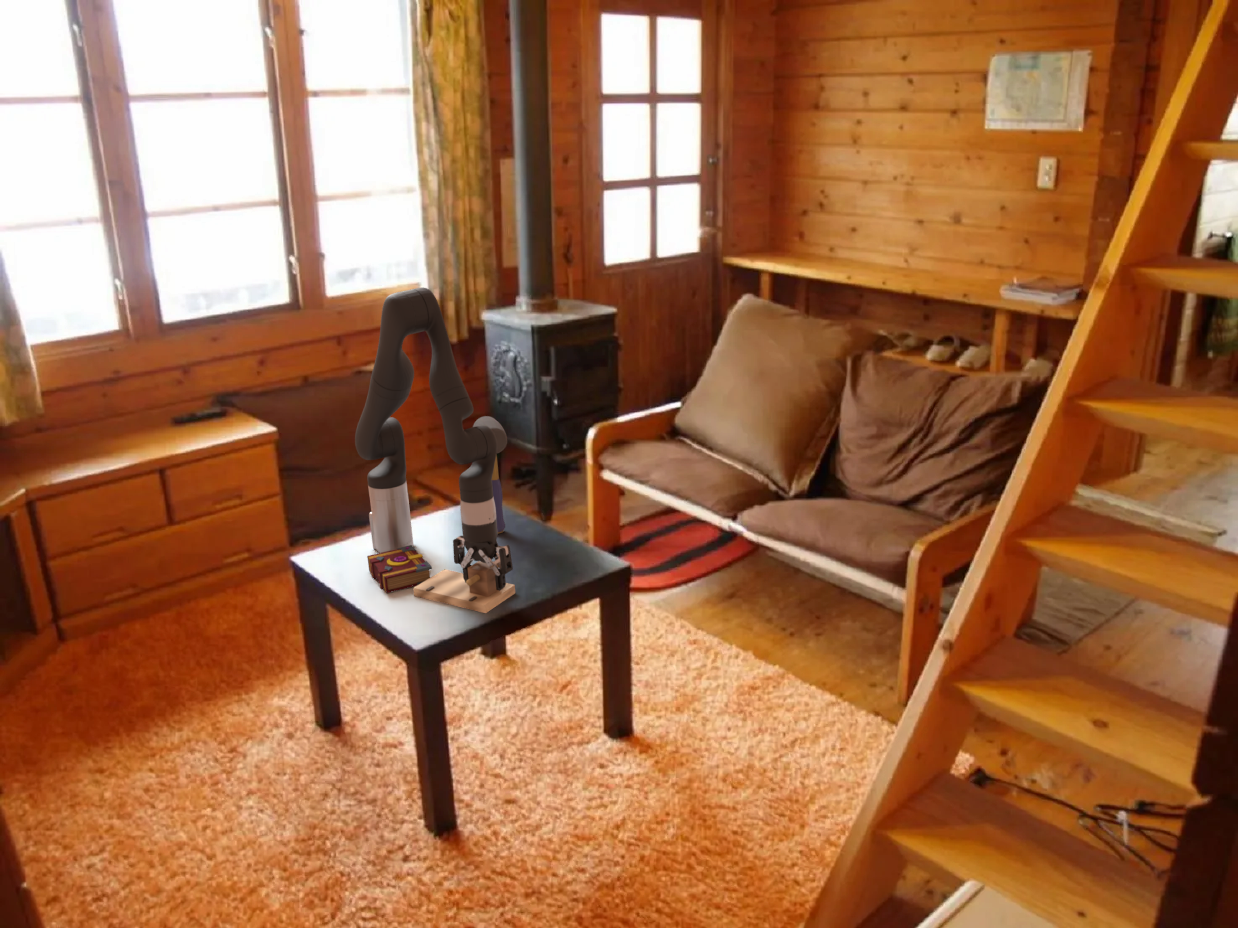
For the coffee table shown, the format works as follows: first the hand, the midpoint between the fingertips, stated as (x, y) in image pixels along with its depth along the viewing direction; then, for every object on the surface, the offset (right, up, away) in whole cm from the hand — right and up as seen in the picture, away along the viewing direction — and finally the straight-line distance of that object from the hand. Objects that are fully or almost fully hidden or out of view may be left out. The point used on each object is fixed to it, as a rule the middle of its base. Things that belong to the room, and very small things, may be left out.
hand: (484, 585), depth 230 cm
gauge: (0, -1, 0) cm, 1 cm away
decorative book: (-22, 0, +15) cm, 27 cm away
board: (-5, -3, +4) cm, 7 cm away
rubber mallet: (-1, +9, +38) cm, 39 cm away
